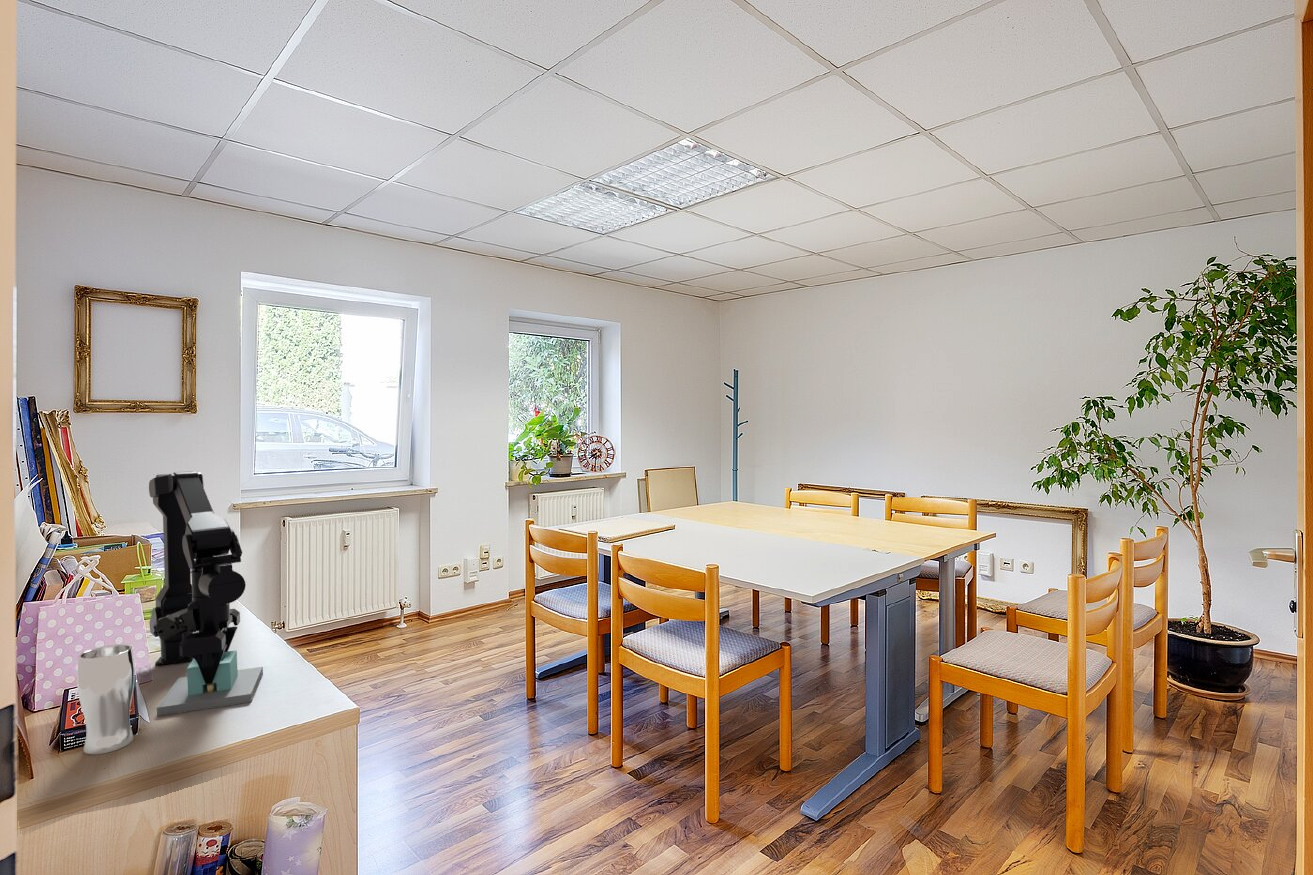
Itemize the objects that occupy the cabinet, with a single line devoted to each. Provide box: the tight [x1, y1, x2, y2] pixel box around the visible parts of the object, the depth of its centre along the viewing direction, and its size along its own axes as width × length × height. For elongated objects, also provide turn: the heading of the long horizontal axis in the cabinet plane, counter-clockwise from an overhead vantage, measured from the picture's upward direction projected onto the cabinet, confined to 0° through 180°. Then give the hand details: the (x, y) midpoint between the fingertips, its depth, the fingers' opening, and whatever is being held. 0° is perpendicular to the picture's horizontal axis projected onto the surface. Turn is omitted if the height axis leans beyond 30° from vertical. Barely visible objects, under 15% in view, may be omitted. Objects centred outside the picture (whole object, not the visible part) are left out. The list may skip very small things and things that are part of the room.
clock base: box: [156, 666, 264, 717], centre depth 123 cm, size 14×14×6 cm
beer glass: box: [76, 643, 136, 756], centre depth 104 cm, size 7×7×15 cm
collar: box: [186, 650, 238, 695], centre depth 123 cm, size 7×7×5 cm
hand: (213, 676), depth 123 cm, fingers open, 7 cm apart
